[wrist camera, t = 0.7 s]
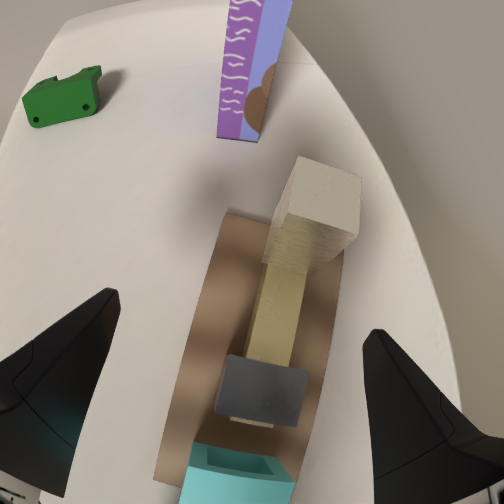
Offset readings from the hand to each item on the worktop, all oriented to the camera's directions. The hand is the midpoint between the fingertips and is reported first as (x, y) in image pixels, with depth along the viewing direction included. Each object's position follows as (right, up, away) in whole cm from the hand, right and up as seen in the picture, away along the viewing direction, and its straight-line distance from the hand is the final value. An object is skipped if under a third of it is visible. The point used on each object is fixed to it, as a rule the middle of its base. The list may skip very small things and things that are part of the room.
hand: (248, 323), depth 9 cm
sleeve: (0, -9, +12) cm, 15 cm away
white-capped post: (+1, -3, +13) cm, 14 cm away
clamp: (-26, +23, +22) cm, 42 cm away
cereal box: (-1, +23, +26) cm, 35 cm away
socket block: (-2, -16, +9) cm, 18 cm away
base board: (0, -8, +14) cm, 16 cm away
